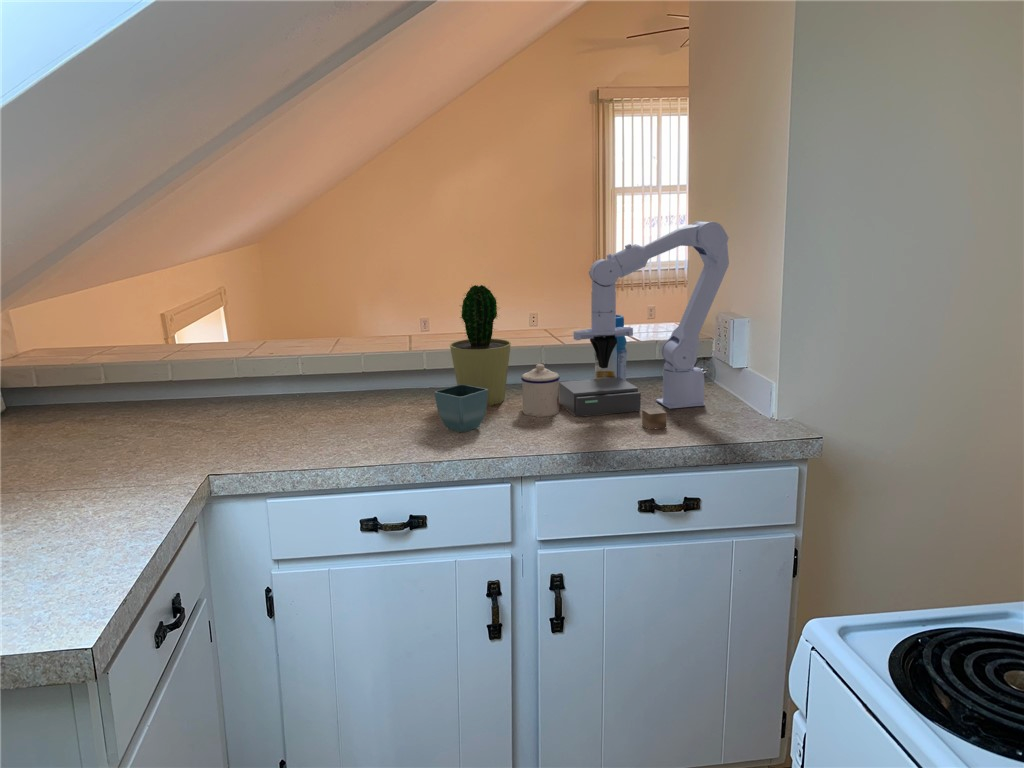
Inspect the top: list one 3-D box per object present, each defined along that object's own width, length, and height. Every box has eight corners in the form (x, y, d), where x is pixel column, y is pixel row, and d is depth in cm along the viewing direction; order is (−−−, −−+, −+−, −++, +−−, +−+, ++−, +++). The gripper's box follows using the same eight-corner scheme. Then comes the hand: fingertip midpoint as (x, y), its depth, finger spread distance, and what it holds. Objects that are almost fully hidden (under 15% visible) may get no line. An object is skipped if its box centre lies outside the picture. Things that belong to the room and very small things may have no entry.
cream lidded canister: (566, 414, 176) (566, 366, 173) (532, 419, 172) (531, 370, 169) (543, 402, 186) (542, 357, 183) (510, 407, 182) (509, 361, 180)
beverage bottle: (631, 393, 193) (632, 317, 188) (601, 396, 190) (601, 319, 186) (618, 386, 200) (619, 312, 196) (589, 389, 198) (589, 315, 194)
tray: (621, 398, 187) (621, 381, 186) (640, 411, 176) (641, 393, 175) (562, 403, 184) (562, 386, 183) (578, 416, 172) (578, 398, 171)
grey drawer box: (619, 397, 189) (619, 377, 188) (639, 410, 177) (639, 388, 176) (559, 402, 186) (559, 382, 185) (575, 416, 173) (575, 394, 172)
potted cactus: (448, 408, 183) (443, 286, 176) (455, 393, 198) (450, 280, 191) (511, 408, 182) (507, 285, 175) (513, 392, 197) (510, 279, 190)
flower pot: (434, 429, 166) (432, 391, 164) (463, 421, 172) (461, 383, 170) (461, 437, 160) (460, 397, 158) (490, 427, 166) (489, 389, 164)
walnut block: (658, 423, 167) (659, 408, 166) (666, 428, 163) (666, 412, 162) (642, 424, 166) (642, 409, 165) (649, 429, 162) (649, 414, 161)
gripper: (581, 315, 169) (581, 373, 173) (639, 311, 174) (638, 368, 177) (570, 311, 176) (570, 367, 179) (625, 307, 180) (625, 362, 183)
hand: (603, 367), depth 178 cm, fingers closed
